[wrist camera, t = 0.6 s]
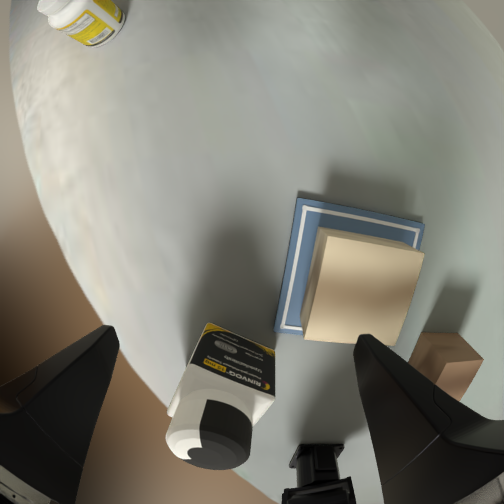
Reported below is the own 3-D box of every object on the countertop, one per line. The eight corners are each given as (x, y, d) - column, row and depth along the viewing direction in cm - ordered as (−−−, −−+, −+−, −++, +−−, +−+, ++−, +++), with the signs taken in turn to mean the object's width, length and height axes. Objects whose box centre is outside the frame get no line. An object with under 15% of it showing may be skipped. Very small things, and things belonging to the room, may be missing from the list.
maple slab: (379, 323, 23) (394, 345, 20) (299, 315, 24) (304, 339, 20) (402, 242, 21) (424, 253, 18) (318, 226, 22) (327, 235, 18)
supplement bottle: (103, 9, 17) (58, -27, 8) (135, 12, 18) (90, -33, 8) (77, 46, 19) (23, 18, 9) (106, 52, 19) (49, 16, 9)
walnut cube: (437, 373, 25) (458, 403, 20) (400, 375, 26) (419, 409, 20) (457, 332, 24) (483, 359, 18) (420, 331, 24) (446, 362, 18)
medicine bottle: (276, 349, 25) (276, 449, 14) (245, 394, 27) (233, 485, 16) (208, 319, 25) (167, 411, 13) (185, 369, 27) (147, 455, 15)
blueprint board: (388, 339, 24) (390, 342, 24) (273, 328, 25) (273, 332, 24) (422, 223, 21) (425, 224, 21) (297, 197, 22) (297, 197, 21)
